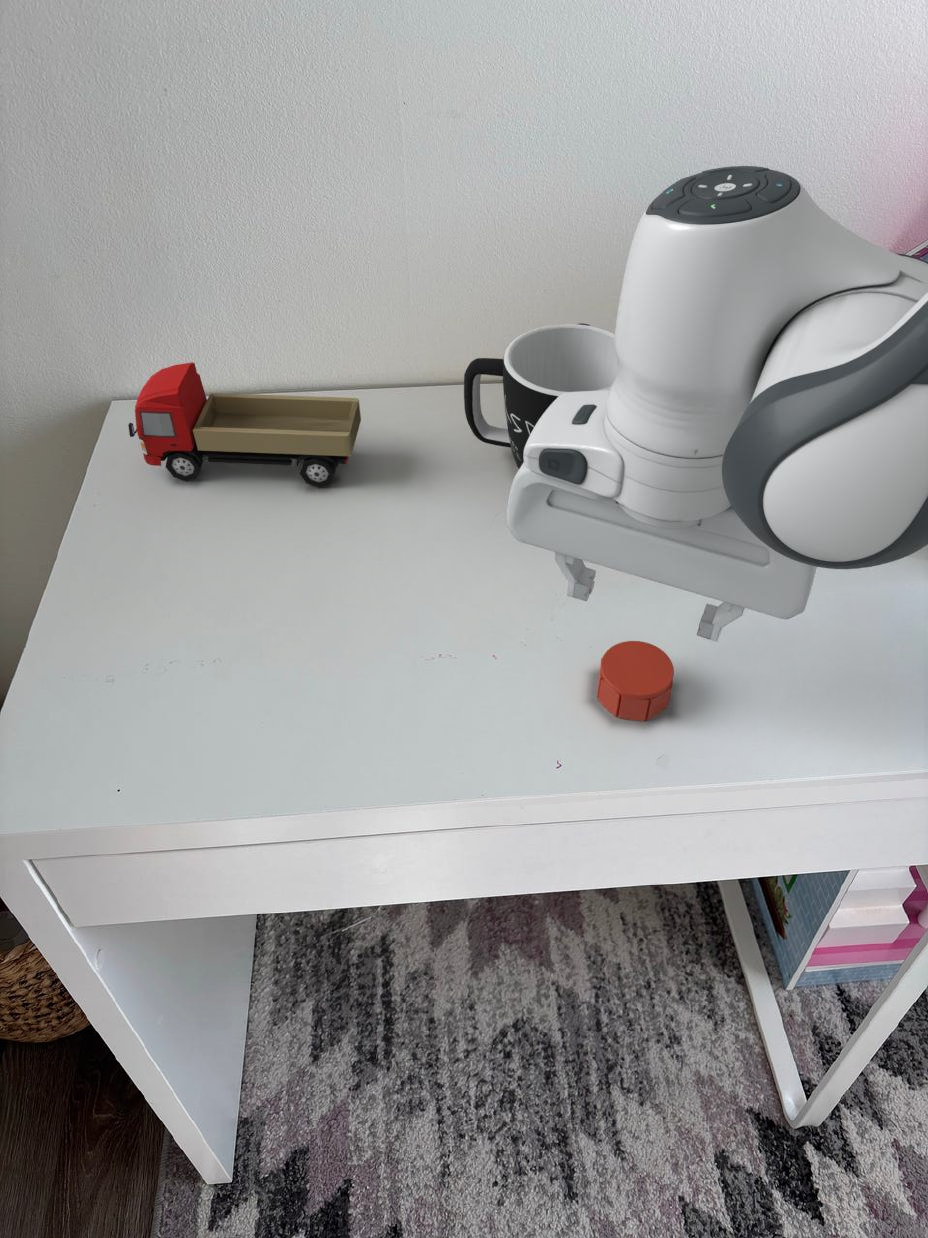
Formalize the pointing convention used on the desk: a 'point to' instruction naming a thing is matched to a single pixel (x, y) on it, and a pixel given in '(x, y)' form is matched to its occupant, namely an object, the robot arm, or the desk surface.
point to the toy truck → (241, 427)
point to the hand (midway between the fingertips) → (643, 612)
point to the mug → (539, 378)
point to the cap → (635, 680)
